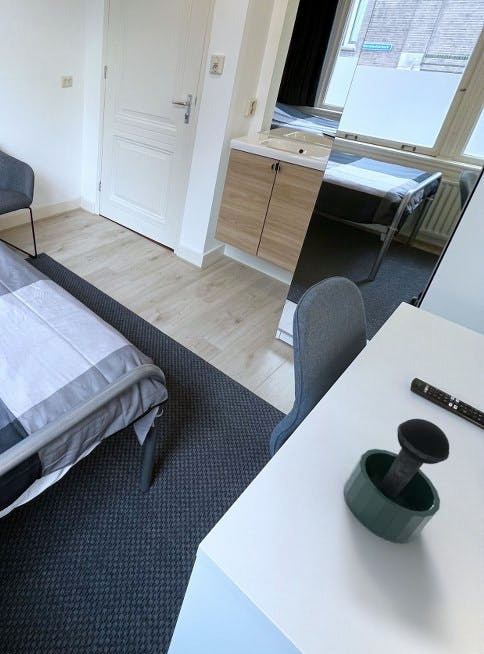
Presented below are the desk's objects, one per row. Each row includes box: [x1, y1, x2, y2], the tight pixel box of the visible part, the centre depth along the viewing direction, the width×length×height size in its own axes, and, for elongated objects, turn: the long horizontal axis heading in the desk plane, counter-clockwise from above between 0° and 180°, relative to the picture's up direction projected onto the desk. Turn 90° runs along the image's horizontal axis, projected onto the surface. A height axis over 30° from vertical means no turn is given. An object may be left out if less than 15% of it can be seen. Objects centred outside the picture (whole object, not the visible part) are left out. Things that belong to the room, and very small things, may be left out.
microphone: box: [380, 418, 450, 498], centre depth 70 cm, size 7×7×20 cm
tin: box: [343, 448, 441, 544], centre depth 73 cm, size 12×12×8 cm
